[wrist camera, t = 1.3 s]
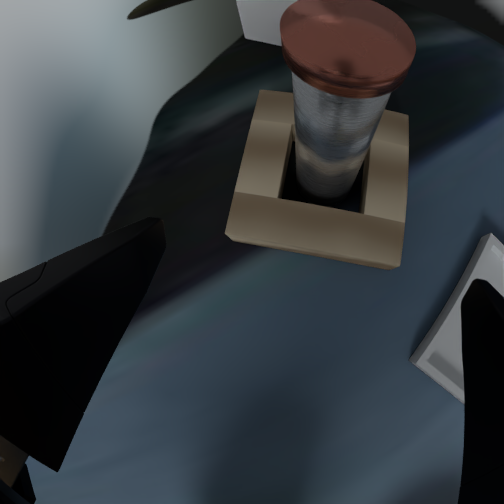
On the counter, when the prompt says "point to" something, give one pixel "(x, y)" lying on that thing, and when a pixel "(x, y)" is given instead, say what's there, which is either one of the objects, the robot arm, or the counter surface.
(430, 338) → the tray
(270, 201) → the socket block
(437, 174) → the counter surface
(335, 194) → the silver and brown cylinder
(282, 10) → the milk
